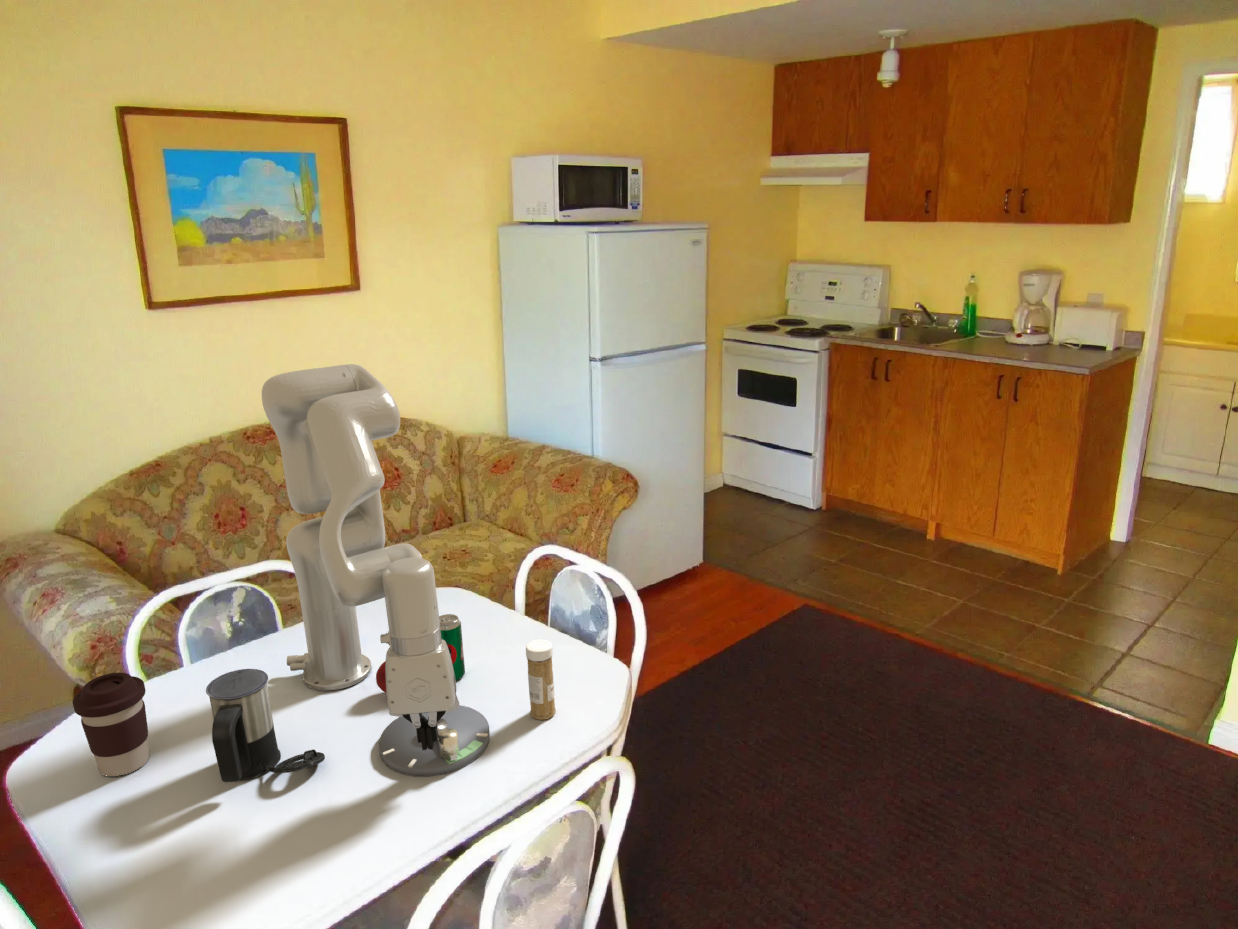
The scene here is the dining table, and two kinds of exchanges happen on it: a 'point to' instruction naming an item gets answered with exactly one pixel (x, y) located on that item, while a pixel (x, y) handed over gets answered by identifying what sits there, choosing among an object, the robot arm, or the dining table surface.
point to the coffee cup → (114, 722)
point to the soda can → (453, 642)
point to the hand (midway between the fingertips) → (428, 744)
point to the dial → (413, 761)
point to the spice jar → (540, 679)
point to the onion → (381, 677)
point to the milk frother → (248, 728)
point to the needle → (447, 741)
